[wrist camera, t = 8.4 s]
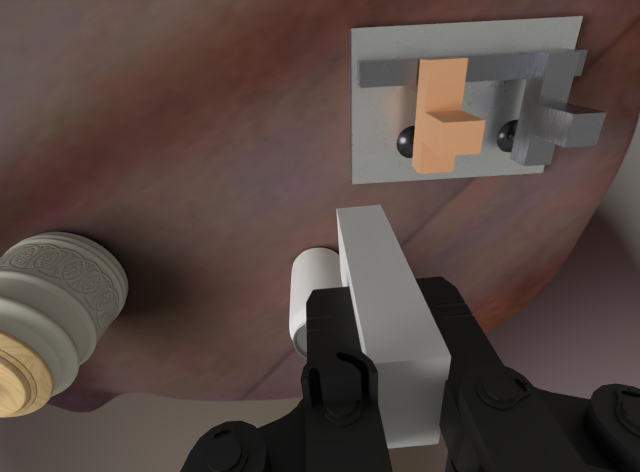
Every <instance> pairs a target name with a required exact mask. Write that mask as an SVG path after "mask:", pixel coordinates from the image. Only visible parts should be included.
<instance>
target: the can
mask: <svg viewBox="0 0 640 472" xmlns="http://www.w3.org/2000/svg"><path fill="white" fill-rule="evenodd" d="M336 287H343V285H342V279H341V272H340V256H339V255H338V254H337V253H336V252H334V251H332V250H330V249H327V248H311V249H308V250H306V251H304V252H302V253H301V254H300V255H299V256H298V257H297V258H296V260H295V261H294V263H293V266H292V276H291V295H290V318H289V330H290V335H291V338H292V340H293V344H294V347H295V350H296V351H297V352H298V354H299V355H301V356H302V357H303V358H305V359H307V334H306V333H307V330H306V302H307V300H308V298H309V296H310V294H311V293H312V291H313V290H314V289H325V288H336Z"/></svg>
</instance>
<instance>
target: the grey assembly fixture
mask: <svg viewBox="0 0 640 472" xmlns="http://www.w3.org/2000/svg"><path fill="white" fill-rule="evenodd" d="M582 19H583V16H574V17H556V18H537V19H518V20H499V21H481V22H462V23H443V24H425V25H406V26H387V27H369V28H351V29H350V126H351V182H352V184H364V183H380V182H397V181H413V180H430V179H447V178H463V177H480V176H496V175H513V174H529V173H543V170H544V166H545V165H551V161H552V157H553V153H554V150H555V146H556V145H559V146H561V147H564V148H568V147H585V146H596V145H597V141H598V138H599V135H600V132H601V129H602V126H603V123H604V120H605V116H606V113H607V112H603V111H598V110H594V109H590V108H585V107H581V106H576V105H572V104H567V101H568V97H569V93H570V90H571V86H572V82H573V78H574V76H581V74H582V70H583V66H584V63H585V59H586V55H587V52H588V49H575V46H576V42H577V38H578V34H579V30H580V27H581V23H582ZM446 57H463V58H468V64H467V72H466V79H465V86H464V94H463V101H462V109H461V110H462V111H465V112H467V113H469V114H472V115H474V116H477V117H479V118H481V119H484V120H486V122H485V128H484V134H483V139H482V145H481V151H480V154H470V155H455V161H454V168H453V172H440V173H423V174H419V173H418V172H417V171H416V170H415V168H414V167H413V166H412V158H413V145H414V132H415V119H416V106H417V93H418V80H419V67H420V59H428V58H446Z"/></svg>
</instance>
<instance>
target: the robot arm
mask: <svg viewBox="0 0 640 472" xmlns="http://www.w3.org/2000/svg"><path fill="white" fill-rule="evenodd" d="M337 223H338V239H339V255H340V272H341V279H342V285H343V287H336V288H325V289H314V290H313V291H312V293H311V294H310V296H309V298H308V300H307V302H306V330H307V333H306V334H307V364H306V365H305V366H304V368H303V372H302V376H301V386H302V392H303V399H302V400H301V401H300V403H299V404H298V406H297V407H296V408H295V409H293V410H292V411H291V412H290V413H289V414H287V415H286V416H284V417H282V418H280V419H278V420H276V421H274V422H271V423H269V424H267V425H264V426H262V427H260V428H256V427H255V426H253V425H252V424H249V423H246V422H243V421H229V422H225V423H222V424H220V425H218V426H215V427H213V428H212V429H210V430H209V431H208V432H207V433H205V434H204V435H203V436H202V437H201V438H199V440H198V441H197V443H196V444H195V446H194V447H193V449H192V450H191V451H190V453H189V455H188V457H187V459H186V461H185V463H184V465H183V467H182V469H181V471H180V472H393V471H392V466H391V461H390V457H389V452H388V448H398V447H408V446H419V445H430V444H438V442H439V435H440V429H441V432H442V435H443V438H444V440H445V443H446V446H447V449H448V455H447V461H446V467H445V472H640V389H638V388H635V387H633V386H627V385H621V384H609V385H602V386H601V387H600V388H598V389H597V390H595V391H594V392H593V394H592V396H591V399H585V398H579V397H574V396H568V395H563V394H557V393H552V392H548V391H545V390H541V389H538V388H536V387H534V386H533V385H532V384H531V383H530V382H529V381H528V380H527V379H526V377H524V376H523V375H521V374H520V373H518V372H516V371H515V370H513V369H511V368H509V367H506V366H504V364H503V363H502V362H501V360H500V359H499V357H498V355H497V353H496V352H495V350H494V349H493V347H492V345H491V344H490V342H489V340H488V339H487V337H486V336H485V334H484V332H483V331H482V329H481V327H480V326H479V324H478V322H477V321H476V319H475V318H474V316H472V313H471V311H470V309H469V308H468V306H467V304H465V301H464V300H463V298H462V296H461V295H460V293H459V291H458V290H457V288H456V287H455V286H453V285H452V284H451V283H449V282H448V281H447V280H445V279H444V278H443V277H431V278H420V279H415V278H414V276H413V273H412V271H411V269H410V267H409V265H408V263H407V261H406V258H405V256H404V254H403V252H402V250H401V248H400V245H399V243H398V241H397V239H396V237H395V235H394V233H393V230H392V228H391V226H390V224H389V222H388V220H387V218H386V215H385V213H384V211H383V209H382V207H381V205H371V206H361V207H350V208H339V209H337Z"/></svg>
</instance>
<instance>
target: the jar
mask: <svg viewBox="0 0 640 472" xmlns="http://www.w3.org/2000/svg"><path fill="white" fill-rule="evenodd" d="M127 294H128V280H127V276H126V274H125V271H124V269H123V268H122V266H121V264H120V263H119V262H118V260H117V259H116V258H115V257H114V256H113V255H112V254H111V253H110V252H109V251H108V250H106V249H105V248H104V247H102V246H101V245H99V244H97V243H96V242H94V241H92V240H90V239H88V238H85V237H82V236H79V235H76V234H72V233H66V232H46V233H41V234H38V235H35V236H33V237H30V238H27V239H25V240H22V241H21V242H19V243H17V244H16V245H15V246H13V247H12V248H10V249H9V250H8V251H7V252H6V253H5V254H4V255H3V256H2V257H1V258H0V417H15V416H21V415H25V414H28V413H31V412H33V411H35V410H38V409H39V408H41V407H42V406H43V405H44V404H46V403H47V401H48V400H49V399H50V397H51V396H54V395H56V394H59V393H60V392H62V391H64V390H65V389H66V388H68V387H69V386H70V385H71V384H72V383H73V381H74V380H75V378H76V376H77V374H78V370H79V365H81V364H82V363H84V362H85V361H86V360H87V359H88V358H89V357H90V356H91V355H92V353H93V351H94V349H95V347H96V344H97V343H98V341H99V340H100V338H101V337H102V335H103V334H104V332H105V331H106V329H107V328H108V327H109V325H110V324H111V323H112V322H113V321H114V320H115V319H116V318H117V316H118V315H119V313H120V312H121V310H122V309H123V306H124V304H125V301H126V298H127Z"/></svg>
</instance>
